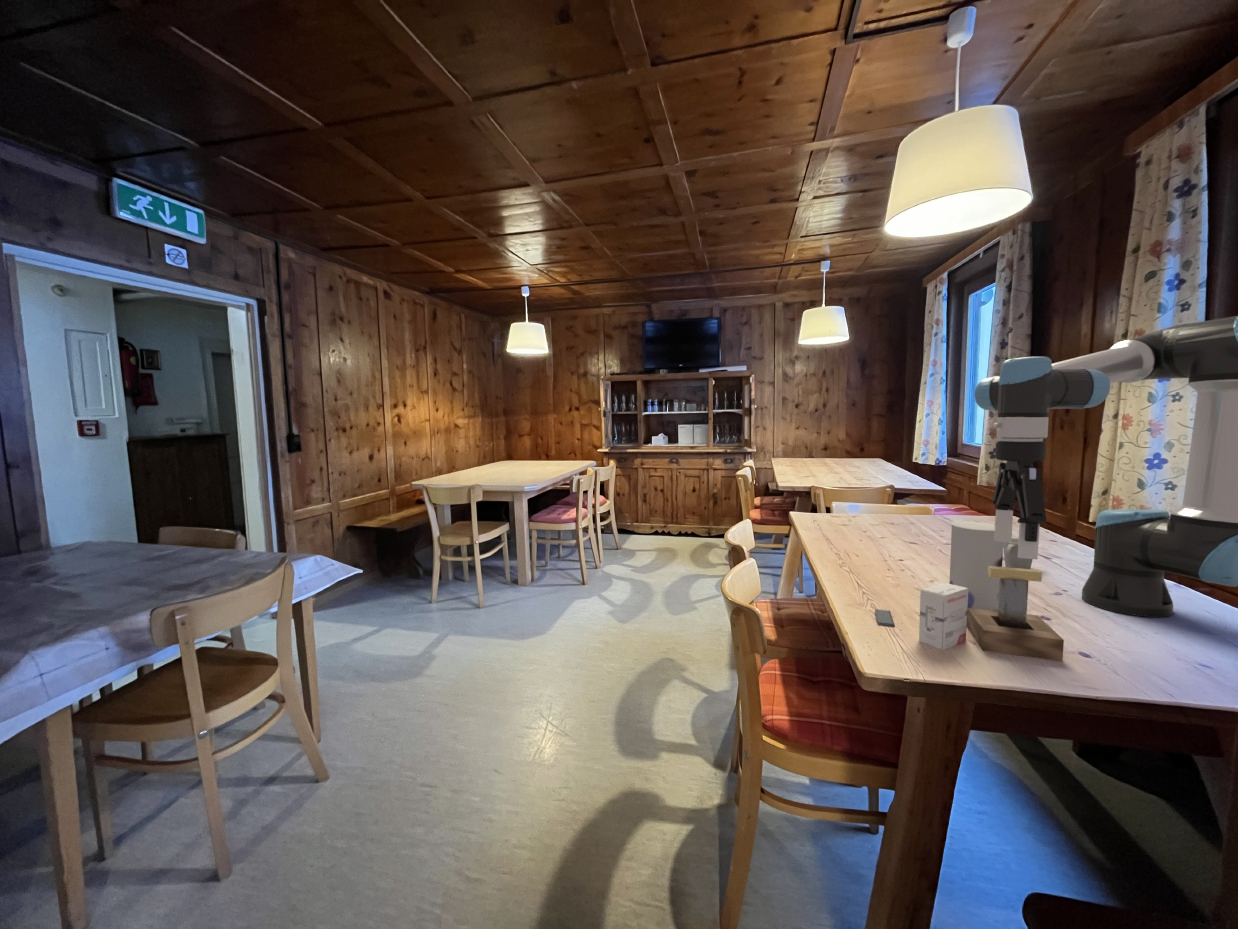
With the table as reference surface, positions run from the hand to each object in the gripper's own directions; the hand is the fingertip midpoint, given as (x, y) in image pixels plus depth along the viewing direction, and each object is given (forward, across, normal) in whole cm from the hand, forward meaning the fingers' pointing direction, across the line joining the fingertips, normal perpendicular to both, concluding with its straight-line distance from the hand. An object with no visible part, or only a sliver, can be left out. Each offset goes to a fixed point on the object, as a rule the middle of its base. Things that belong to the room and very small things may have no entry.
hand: (1014, 549), depth 96 cm
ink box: (+20, +3, -12) cm, 23 cm away
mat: (+20, -7, -19) cm, 28 cm away
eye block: (+20, 0, 0) cm, 20 cm away
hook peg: (+19, 0, 0) cm, 19 cm away
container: (+20, -22, -1) cm, 30 cm away
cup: (+20, -60, +18) cm, 66 cm away
